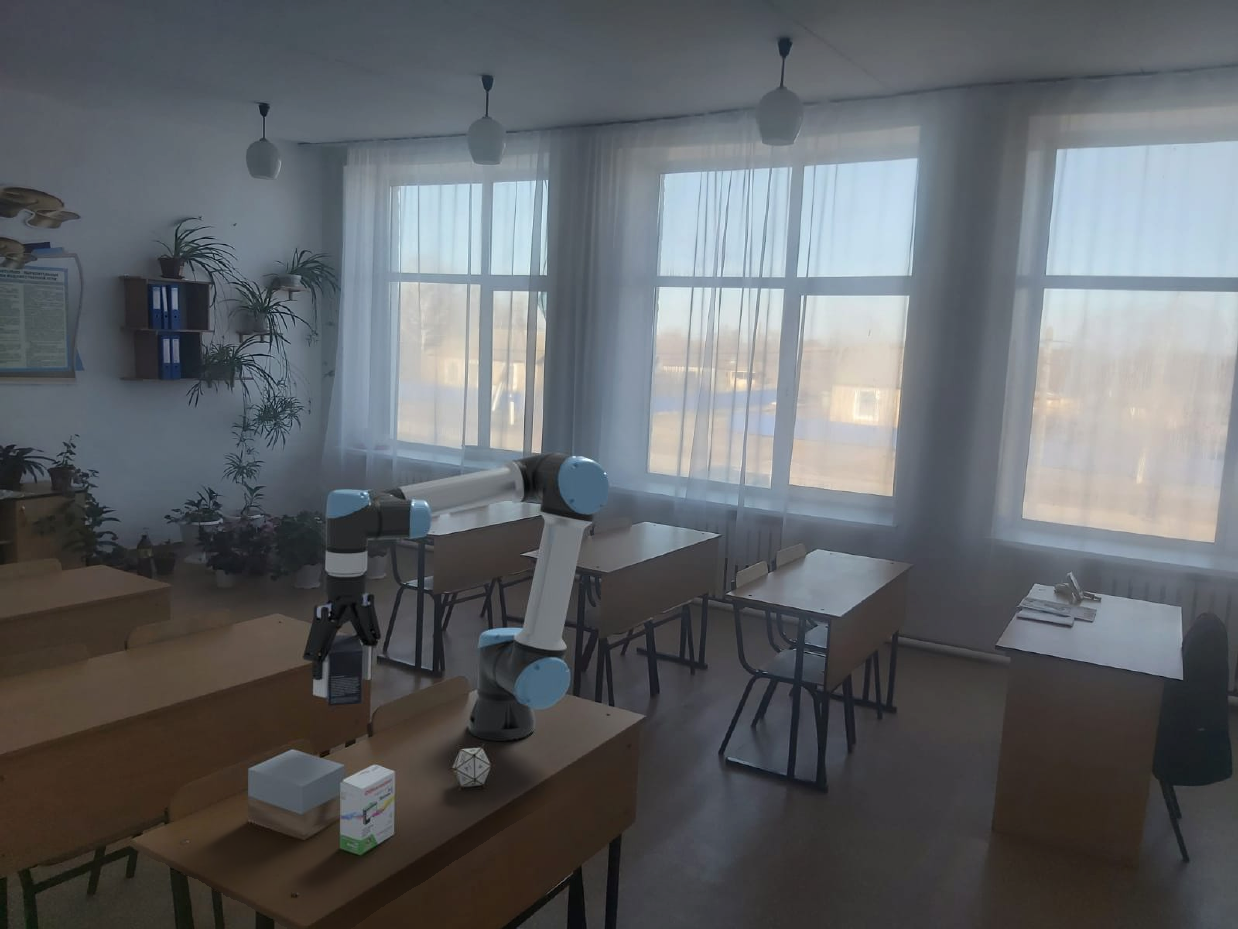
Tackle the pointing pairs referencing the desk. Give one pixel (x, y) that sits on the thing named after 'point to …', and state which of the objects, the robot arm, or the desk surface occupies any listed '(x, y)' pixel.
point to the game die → (471, 767)
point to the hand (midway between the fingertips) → (342, 686)
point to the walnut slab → (294, 817)
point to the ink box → (367, 809)
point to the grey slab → (295, 781)
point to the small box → (345, 670)
